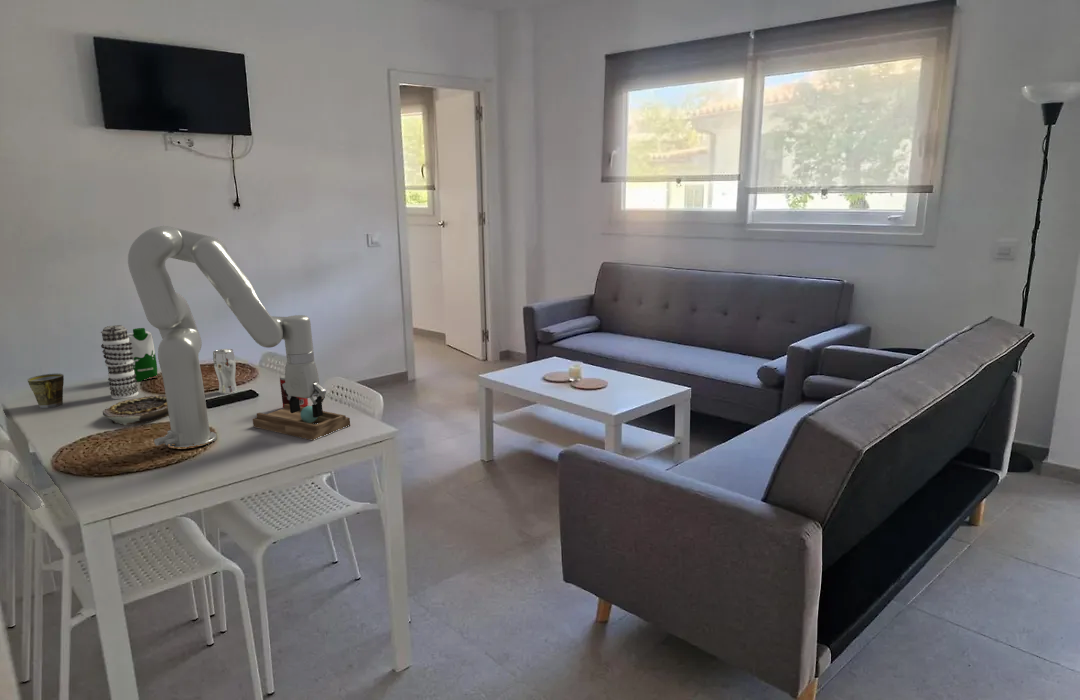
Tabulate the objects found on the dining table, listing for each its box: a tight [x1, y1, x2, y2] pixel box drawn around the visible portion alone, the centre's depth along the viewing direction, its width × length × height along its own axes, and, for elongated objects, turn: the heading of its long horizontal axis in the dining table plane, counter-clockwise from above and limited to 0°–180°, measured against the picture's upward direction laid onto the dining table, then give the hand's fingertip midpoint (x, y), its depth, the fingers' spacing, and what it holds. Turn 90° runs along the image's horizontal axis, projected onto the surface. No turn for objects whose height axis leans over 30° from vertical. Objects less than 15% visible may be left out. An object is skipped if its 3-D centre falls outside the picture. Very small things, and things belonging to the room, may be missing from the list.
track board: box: [252, 404, 351, 441], centre depth 202 cm, size 14×26×4 cm, turn 59°
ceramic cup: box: [27, 372, 64, 409], centre depth 229 cm, size 13×10×10 cm
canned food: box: [279, 373, 309, 409], centre depth 220 cm, size 8×8×11 cm
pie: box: [102, 394, 169, 426], centre depth 217 cm, size 28×27×5 cm
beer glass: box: [212, 348, 238, 395], centre depth 240 cm, size 7×7×15 cm
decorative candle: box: [99, 324, 139, 400], centre depth 238 cm, size 9×9×25 cm
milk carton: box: [127, 327, 158, 383], centre depth 261 cm, size 9×9×20 cm
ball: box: [300, 405, 318, 423], centre depth 201 cm, size 5×5×5 cm
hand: (306, 414), depth 201 cm, fingers open, 9 cm apart
